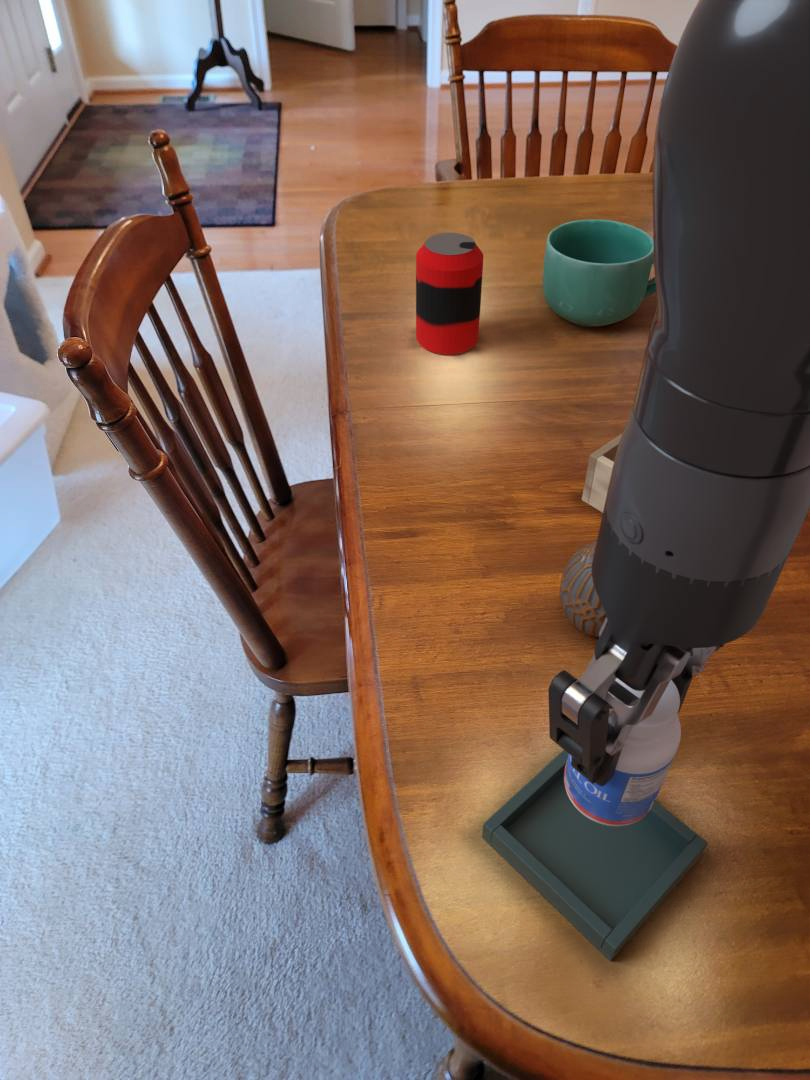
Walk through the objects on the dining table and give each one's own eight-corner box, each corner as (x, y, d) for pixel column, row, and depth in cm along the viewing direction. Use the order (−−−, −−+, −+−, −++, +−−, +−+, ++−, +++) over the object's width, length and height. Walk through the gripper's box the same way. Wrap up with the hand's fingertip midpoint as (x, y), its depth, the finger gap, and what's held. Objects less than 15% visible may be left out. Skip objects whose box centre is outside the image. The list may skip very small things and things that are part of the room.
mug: (544, 338, 101) (553, 264, 94) (533, 289, 110) (541, 218, 103) (681, 339, 101) (700, 264, 94) (660, 289, 110) (675, 218, 103)
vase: (620, 664, 65) (641, 588, 59) (540, 628, 68) (553, 551, 62) (652, 609, 70) (675, 532, 63) (576, 576, 72) (591, 500, 66)
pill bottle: (545, 765, 51) (566, 667, 44) (620, 735, 52) (651, 636, 45) (594, 845, 47) (625, 751, 40) (673, 810, 49) (716, 714, 42)
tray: (701, 856, 54) (708, 842, 53) (610, 962, 50) (615, 949, 48) (574, 751, 60) (577, 736, 59) (481, 837, 55) (483, 823, 54)
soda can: (473, 359, 98) (479, 261, 89) (410, 352, 99) (410, 255, 90) (482, 326, 103) (488, 232, 95) (422, 321, 104) (422, 226, 96)
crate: (740, 503, 79) (757, 458, 75) (675, 557, 74) (689, 511, 70) (647, 453, 85) (658, 408, 81) (581, 500, 80) (589, 454, 76)
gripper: (675, 658, 29) (598, 874, 40) (871, 476, 36) (756, 706, 47) (512, 545, 33) (485, 772, 44) (717, 401, 40) (647, 631, 51)
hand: (625, 737), depth 46 cm, fingers closed on pill bottle, 5 cm apart
